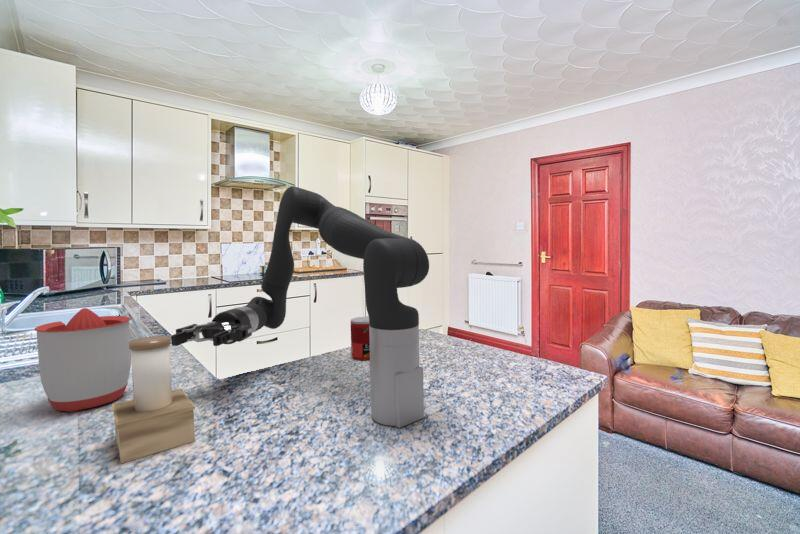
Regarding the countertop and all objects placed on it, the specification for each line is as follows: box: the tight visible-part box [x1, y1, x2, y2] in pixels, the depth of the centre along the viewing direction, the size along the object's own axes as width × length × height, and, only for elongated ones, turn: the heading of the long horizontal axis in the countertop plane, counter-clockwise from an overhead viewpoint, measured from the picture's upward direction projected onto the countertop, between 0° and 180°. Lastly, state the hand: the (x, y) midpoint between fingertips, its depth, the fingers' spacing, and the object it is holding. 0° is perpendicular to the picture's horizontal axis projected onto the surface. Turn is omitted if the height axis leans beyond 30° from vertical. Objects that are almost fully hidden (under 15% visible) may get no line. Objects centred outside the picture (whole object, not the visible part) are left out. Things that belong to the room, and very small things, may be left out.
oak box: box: [111, 388, 196, 464], centre depth 64 cm, size 10×10×6 cm
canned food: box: [350, 316, 370, 361], centre depth 111 cm, size 8×8×11 cm
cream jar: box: [129, 335, 173, 412], centre depth 64 cm, size 6×6×11 cm
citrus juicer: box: [34, 307, 132, 413], centre depth 82 cm, size 16×17×20 cm
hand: (194, 340), depth 75 cm, fingers open, 8 cm apart
